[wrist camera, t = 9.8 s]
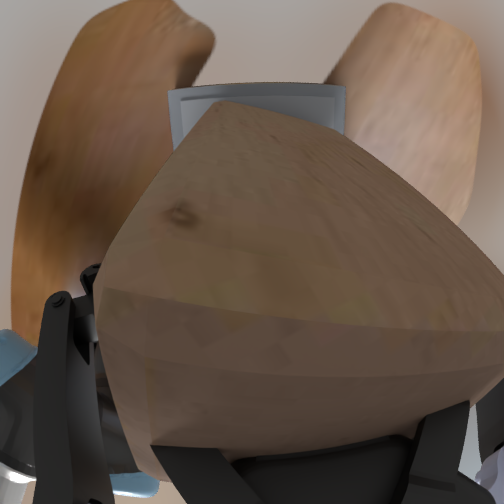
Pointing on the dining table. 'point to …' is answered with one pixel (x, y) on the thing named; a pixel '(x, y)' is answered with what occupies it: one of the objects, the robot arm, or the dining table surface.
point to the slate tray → (259, 102)
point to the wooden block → (288, 297)
